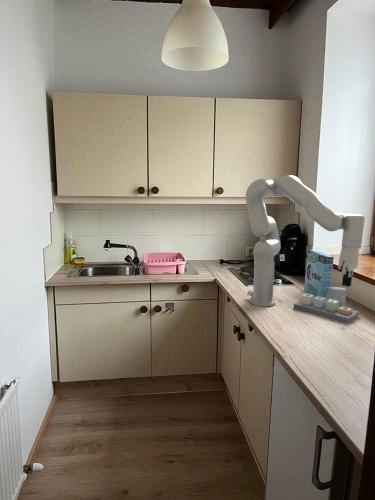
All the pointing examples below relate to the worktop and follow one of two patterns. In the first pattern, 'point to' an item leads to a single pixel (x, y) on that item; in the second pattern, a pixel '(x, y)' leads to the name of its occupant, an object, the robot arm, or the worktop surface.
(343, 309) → the peach cube
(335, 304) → the key
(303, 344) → the worktop surface
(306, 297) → the key
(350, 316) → the keypad board
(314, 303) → the key
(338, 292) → the medicine box
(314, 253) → the gum box
